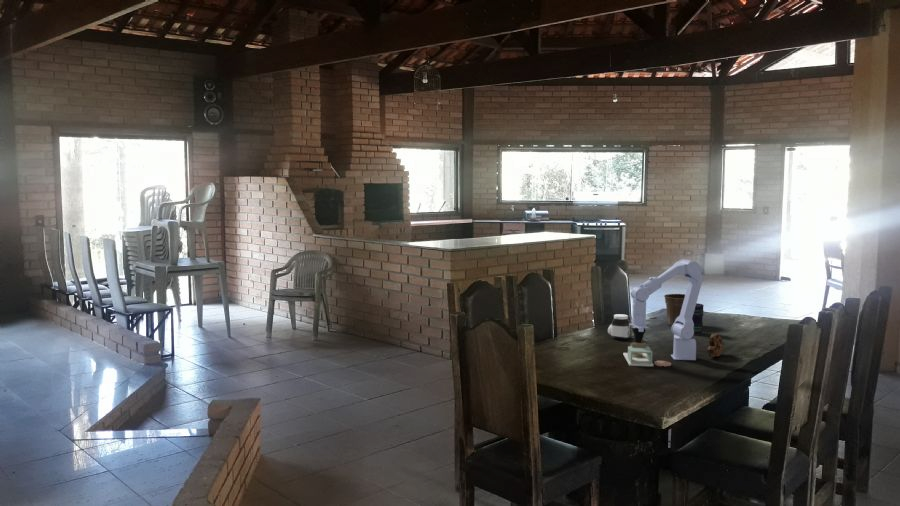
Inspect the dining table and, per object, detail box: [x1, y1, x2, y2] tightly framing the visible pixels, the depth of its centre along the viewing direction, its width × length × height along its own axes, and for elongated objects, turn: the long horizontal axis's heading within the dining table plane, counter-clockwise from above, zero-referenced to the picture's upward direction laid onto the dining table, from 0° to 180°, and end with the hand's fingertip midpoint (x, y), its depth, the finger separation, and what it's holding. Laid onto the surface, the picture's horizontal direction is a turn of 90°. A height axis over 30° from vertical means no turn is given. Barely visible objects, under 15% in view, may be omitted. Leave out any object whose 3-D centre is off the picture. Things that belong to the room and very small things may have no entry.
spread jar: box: [607, 313, 631, 341], centre depth 367 cm, size 12×11×12 cm
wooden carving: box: [707, 333, 725, 358], centre depth 329 cm, size 16×5×10 cm, turn 148°
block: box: [630, 344, 643, 358], centre depth 327 cm, size 4×4×5 cm
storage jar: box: [692, 303, 705, 336], centre depth 378 cm, size 10×10×15 cm
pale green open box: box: [627, 342, 653, 363], centre depth 317 cm, size 9×9×7 cm
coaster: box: [653, 360, 672, 367], centre depth 315 cm, size 7×7×1 cm
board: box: [623, 352, 654, 367], centre depth 322 cm, size 10×20×1 cm, turn 174°
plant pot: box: [663, 293, 686, 327], centre depth 398 cm, size 16×16×16 cm
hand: (638, 344), depth 322 cm, fingers closed
